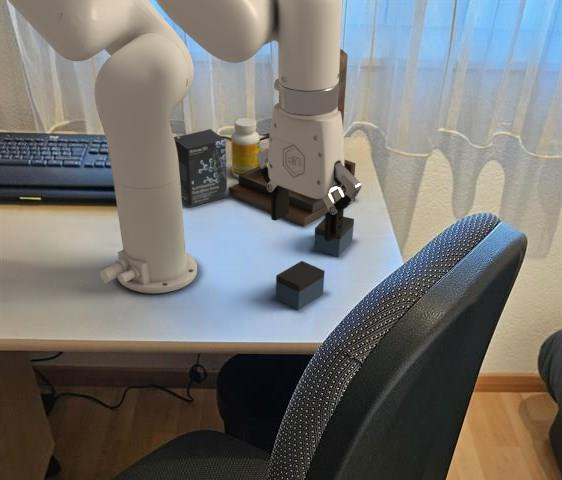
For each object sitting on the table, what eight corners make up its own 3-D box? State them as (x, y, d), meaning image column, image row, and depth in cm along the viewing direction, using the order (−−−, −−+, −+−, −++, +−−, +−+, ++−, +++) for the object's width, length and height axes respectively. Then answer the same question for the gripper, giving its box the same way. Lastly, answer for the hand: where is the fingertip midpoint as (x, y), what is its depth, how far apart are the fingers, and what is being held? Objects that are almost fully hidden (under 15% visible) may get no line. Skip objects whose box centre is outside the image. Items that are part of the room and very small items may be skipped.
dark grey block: (298, 310, 112) (299, 286, 110) (275, 299, 114) (275, 275, 112) (323, 294, 116) (324, 270, 113) (300, 283, 118) (301, 260, 115)
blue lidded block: (338, 257, 124) (340, 234, 121) (313, 250, 125) (314, 227, 122) (352, 241, 127) (354, 218, 125) (327, 235, 129) (329, 212, 126)
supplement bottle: (230, 169, 147) (228, 117, 140) (256, 167, 148) (256, 115, 141) (234, 180, 143) (233, 128, 136) (262, 178, 144) (262, 126, 137)
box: (190, 208, 135) (186, 147, 127) (175, 196, 138) (170, 136, 130) (228, 198, 138) (226, 138, 130) (213, 186, 141) (210, 127, 133)
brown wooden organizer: (304, 226, 131) (305, 188, 126) (228, 195, 139) (227, 158, 134) (352, 200, 138) (355, 163, 133) (278, 172, 146) (279, 135, 141)
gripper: (237, 90, 97) (243, 218, 109) (345, 122, 89) (338, 256, 101) (275, 75, 101) (277, 201, 113) (381, 104, 93) (370, 236, 105)
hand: (306, 227), depth 107 cm, fingers open, 9 cm apart
